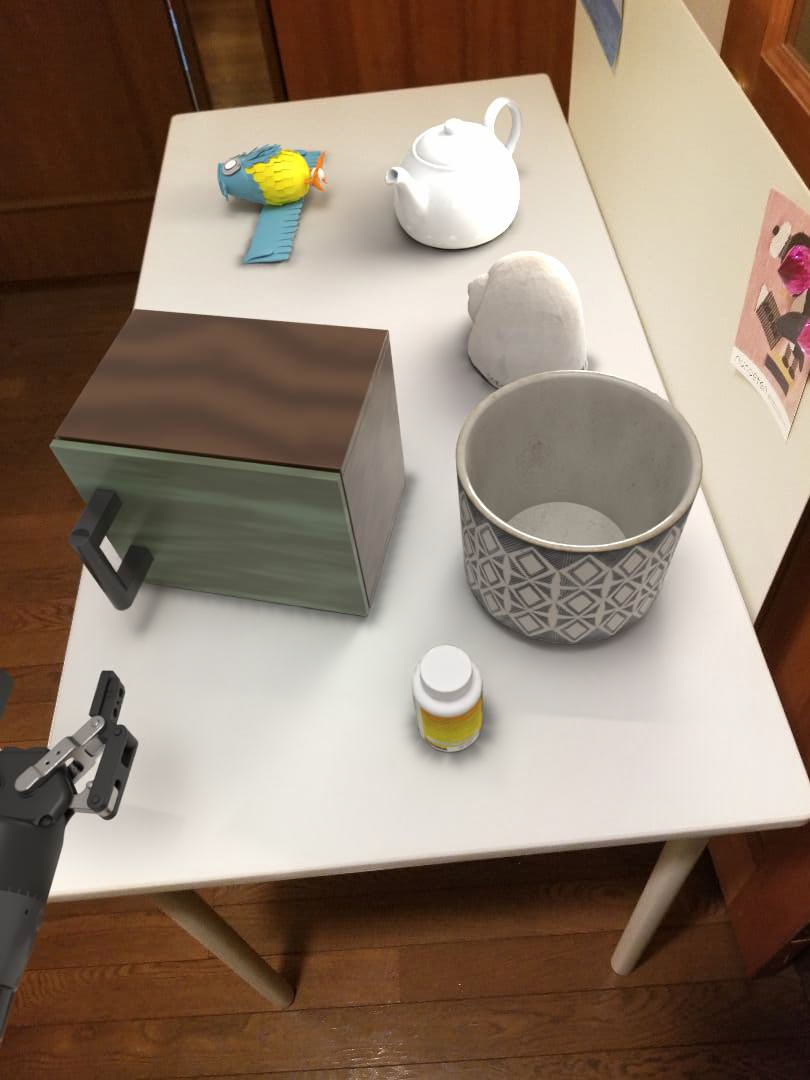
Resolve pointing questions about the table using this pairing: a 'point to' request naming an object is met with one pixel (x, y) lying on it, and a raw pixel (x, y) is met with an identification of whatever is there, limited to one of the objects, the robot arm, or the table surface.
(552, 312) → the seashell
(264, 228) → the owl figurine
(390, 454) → the cupboard
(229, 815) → the table surface
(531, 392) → the planter
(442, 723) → the supplement bottle
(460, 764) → the table surface
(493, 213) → the teapot
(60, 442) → the cupboard door
